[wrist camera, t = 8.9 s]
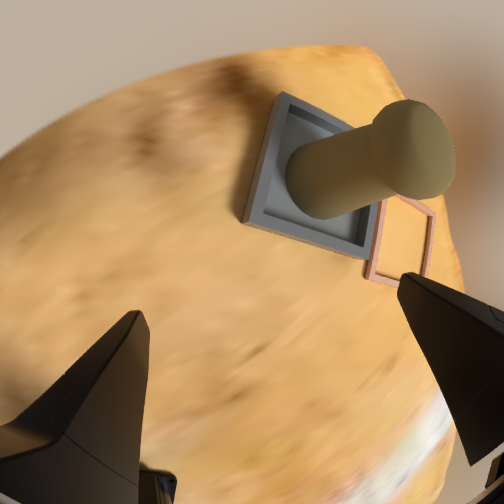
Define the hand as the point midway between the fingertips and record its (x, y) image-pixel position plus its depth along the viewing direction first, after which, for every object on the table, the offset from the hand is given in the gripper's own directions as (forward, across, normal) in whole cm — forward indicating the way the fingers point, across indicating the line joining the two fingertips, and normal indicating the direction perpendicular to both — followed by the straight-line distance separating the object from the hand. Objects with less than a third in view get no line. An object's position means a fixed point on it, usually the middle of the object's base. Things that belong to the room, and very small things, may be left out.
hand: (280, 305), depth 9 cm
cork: (+13, -6, 0) cm, 14 cm away
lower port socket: (+13, -6, 0) cm, 14 cm away
